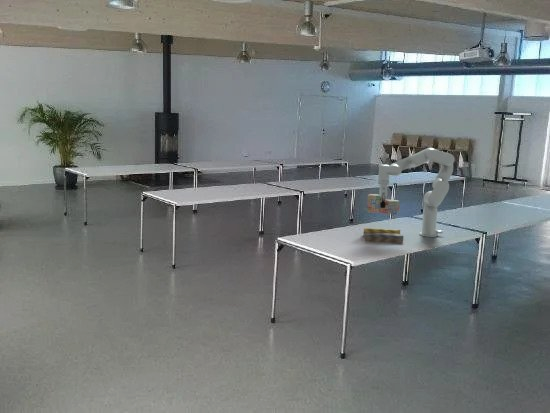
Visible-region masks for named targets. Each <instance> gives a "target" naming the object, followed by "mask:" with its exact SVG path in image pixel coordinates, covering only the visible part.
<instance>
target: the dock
mask: <svg viewBox="0 0 550 413" xmlns="http://www.w3.org/2000/svg"><path fill="white" fill-rule="evenodd" d="M363 239H364V242H366V243H367V242H368V243H383V242H384V243H387V244H390V243H391V244H404V235H402V234H401V229H387V228H385V229H384V228H365V227H364V228H363Z"/></svg>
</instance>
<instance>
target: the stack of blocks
mask: <svg viewBox="0 0 550 413" xmlns="http://www.w3.org/2000/svg"><path fill="white" fill-rule="evenodd" d="M366 204H367V206H366V212H368V213H378V214H379V213H380V214H389V215H390V214H391V215H398V214H399V212H400V211H399V210H400V209H399V208H400V207H399V206H400V200H397V199H388V198H387V199H386V198H385V208H380V205H381V198H380V194H378V193H377V194H376V193H369V194H367V202H366Z"/></svg>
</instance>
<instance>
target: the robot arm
mask: <svg viewBox="0 0 550 413" xmlns="http://www.w3.org/2000/svg"><path fill="white" fill-rule="evenodd" d="M455 159H456V158H455V156H454V155H453V154H451V153H449V152H445V151H441V150H438V149H436V148H433V147H427V148H425V149H422V150H420V151H419V152H417V153H414V154H412V155H409V156H407V157H404V158H402V159H399V160H396V162H393V163H391V164H390V165H389V164H379V166H378V179H377V185H378V186H379V190H378V191H379V194H378V195H380V198H381V205H380V208H385V198H386V199H388V185H390V176H394V177H397V176H400V175H401V174H402V171H404V170H407V169H410V168H416V167H417V168H418V167H419V166H421V165H423V164H425V163H427V162H433V163H437V164H439V165H440V169H439V171H438V173H437V175H436V177H435V178H434V180H433V182H432V183H431V184H432V186H431V187H432V188H433V189H432V190H429V191H427V192H426V193H425V194H424V195H423V211H422V225H421V226H422V227H421V231H420V232H419V236H421V237H425V238H437V237H438V235H439V234H444V233H443V232H444V231H443V230H439V229H437V220H438V219H437V218H438V206H440V205H441V203H442V202H443V200H444V199H445V197H446V196H447V194H448V192H449V189H450V183H449V180H450V179H451V176H452V175H453V171H454V164H455Z"/></svg>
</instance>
